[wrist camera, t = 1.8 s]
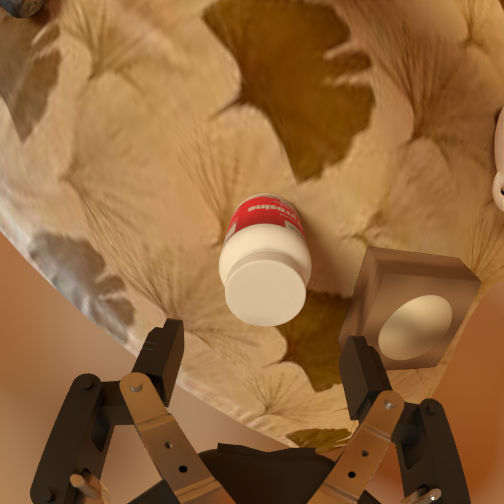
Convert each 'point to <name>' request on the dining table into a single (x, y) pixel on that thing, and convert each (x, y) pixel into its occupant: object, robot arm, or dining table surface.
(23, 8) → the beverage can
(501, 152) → the teapot
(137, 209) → the dining table surface
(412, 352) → the pedestal
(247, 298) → the pill bottle
